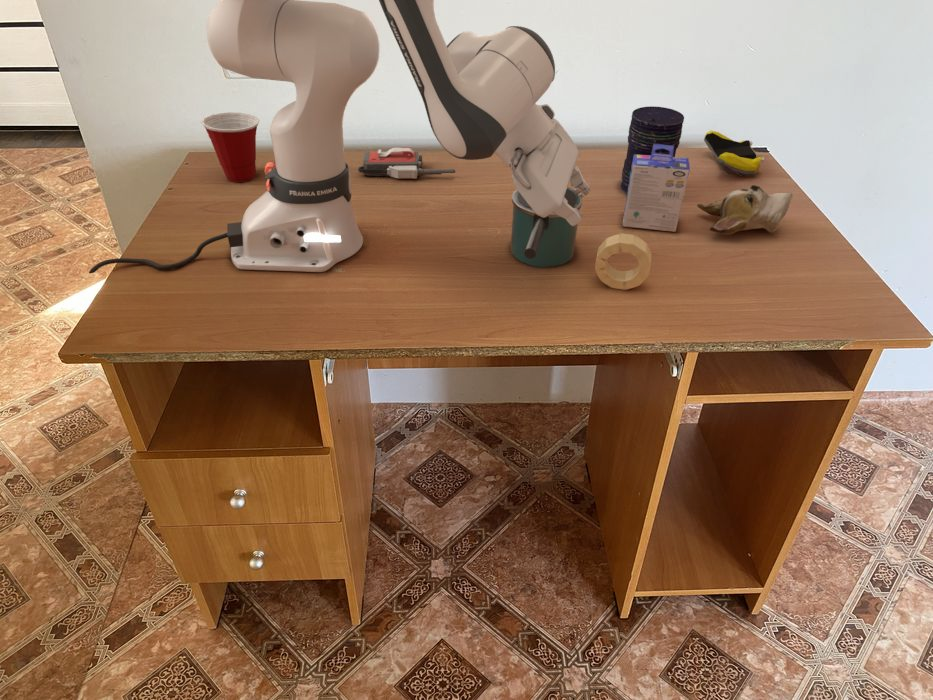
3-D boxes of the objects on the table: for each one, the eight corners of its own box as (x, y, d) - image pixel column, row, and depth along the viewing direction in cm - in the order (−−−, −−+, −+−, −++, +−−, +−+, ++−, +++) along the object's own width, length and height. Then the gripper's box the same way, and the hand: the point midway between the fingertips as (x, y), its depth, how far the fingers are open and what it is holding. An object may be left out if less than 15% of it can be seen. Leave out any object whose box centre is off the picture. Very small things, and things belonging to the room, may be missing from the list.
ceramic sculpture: (805, 198, 116) (715, 200, 117) (793, 243, 121) (706, 245, 122) (785, 171, 124) (701, 174, 125) (774, 215, 130) (693, 217, 131)
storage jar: (629, 174, 144) (641, 102, 134) (675, 185, 140) (691, 112, 130) (612, 192, 137) (623, 118, 127) (660, 204, 133) (675, 129, 124)
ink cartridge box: (676, 219, 128) (692, 144, 119) (677, 233, 124) (694, 157, 115) (622, 213, 130) (635, 139, 121) (622, 227, 126) (634, 152, 117)
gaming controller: (715, 181, 141) (764, 182, 141) (722, 156, 138) (772, 156, 138) (698, 152, 153) (742, 152, 153) (703, 128, 149) (749, 128, 149)
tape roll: (592, 285, 111) (599, 239, 105) (594, 275, 113) (600, 230, 108) (645, 292, 109) (654, 247, 104) (645, 282, 111) (655, 237, 106)
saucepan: (515, 230, 125) (518, 178, 118) (579, 238, 123) (586, 186, 116) (490, 296, 108) (492, 240, 102) (563, 306, 106) (570, 250, 100)
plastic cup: (278, 177, 141) (268, 120, 133) (229, 192, 135) (215, 133, 128) (254, 161, 147) (243, 105, 140) (206, 174, 142) (192, 117, 134)
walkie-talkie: (357, 181, 140) (455, 179, 141) (355, 160, 137) (455, 159, 138) (360, 163, 147) (454, 162, 148) (358, 143, 144) (453, 142, 145)
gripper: (524, 151, 90) (590, 228, 94) (550, 100, 105) (605, 168, 109) (490, 179, 93) (555, 252, 97) (520, 126, 109) (575, 190, 113)
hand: (582, 207), depth 103 cm, fingers open, 8 cm apart
